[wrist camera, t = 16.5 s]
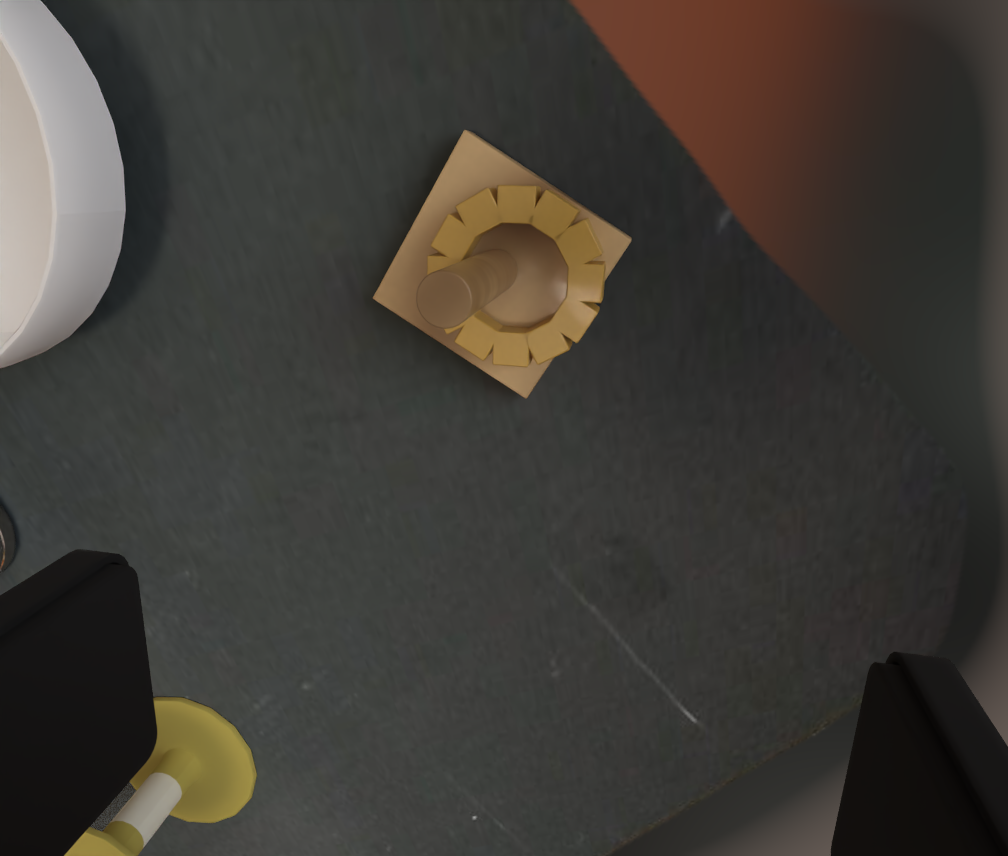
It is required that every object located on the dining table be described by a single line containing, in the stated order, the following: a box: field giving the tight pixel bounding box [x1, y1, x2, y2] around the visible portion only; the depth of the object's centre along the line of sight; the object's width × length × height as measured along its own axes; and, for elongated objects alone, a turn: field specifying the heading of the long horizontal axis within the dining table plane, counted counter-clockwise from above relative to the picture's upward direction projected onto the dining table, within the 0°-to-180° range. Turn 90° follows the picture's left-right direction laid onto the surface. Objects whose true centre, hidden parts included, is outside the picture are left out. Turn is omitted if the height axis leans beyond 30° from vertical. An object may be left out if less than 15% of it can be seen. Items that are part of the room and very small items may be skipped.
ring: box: [427, 185, 606, 367], centre depth 34 cm, size 8×8×2 cm
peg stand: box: [373, 130, 632, 398], centre depth 31 cm, size 9×9×12 cm
